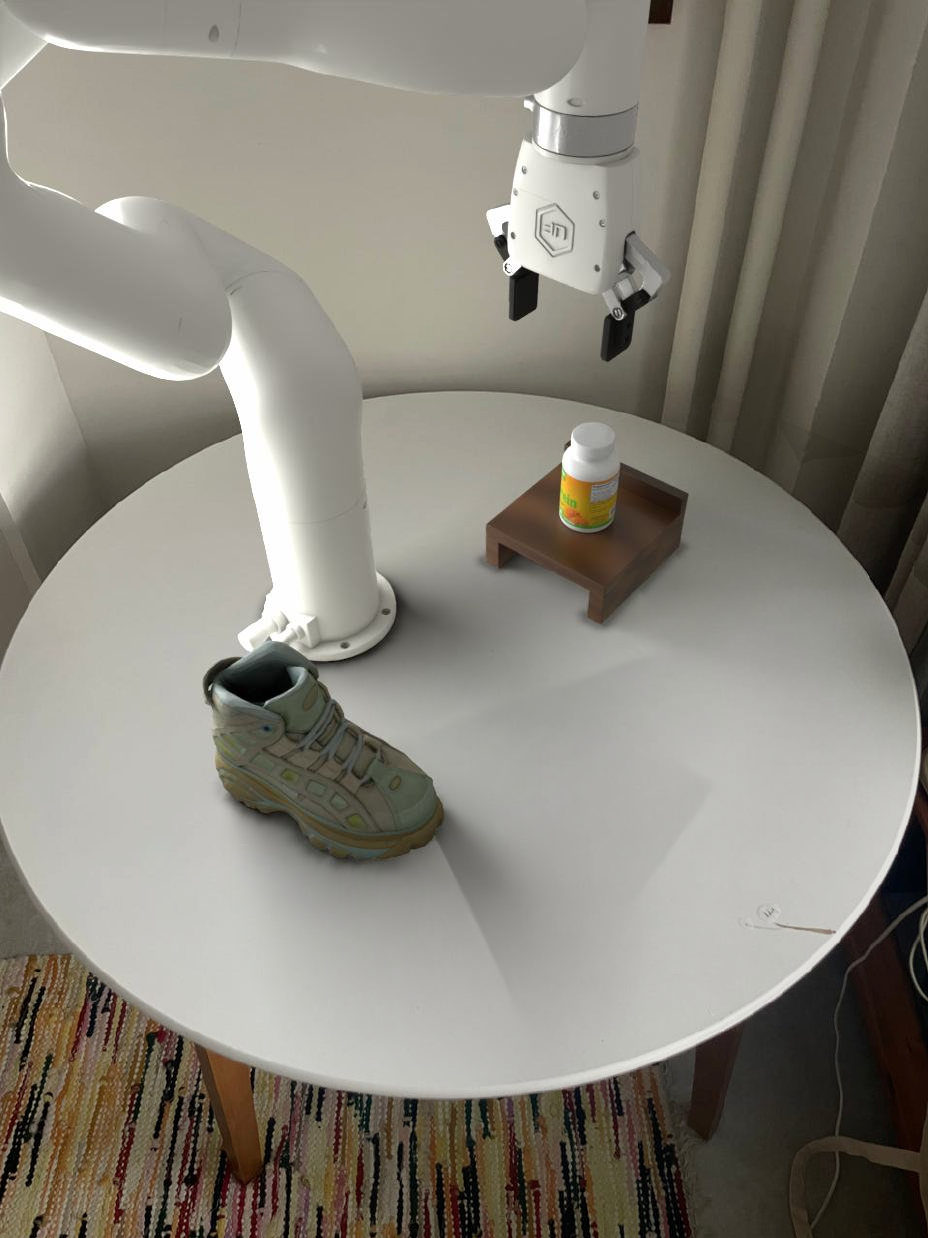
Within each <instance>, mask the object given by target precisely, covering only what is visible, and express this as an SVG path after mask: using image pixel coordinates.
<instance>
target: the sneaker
mask: <svg viewBox="0 0 928 1238" xmlns="http://www.w3.org/2000/svg"><path fill="white" fill-rule="evenodd" d="M319 678H320V673H319V669H318V667H317V666H316V665H315V664H314V663H313V662H312V661H311V660H308V659H307V658H306V657H305V656H304V655H302V654H301V653H300V652H298V651H297V650H295V649H294V648H292V647H291V646H289V645H288V644H286V643H283V642H280V641H276V640H272V639H271V640H268V641H267V640H266V641H264V642H263V643H262V644H260V645H259V646H258V647H257V648H255V649H254V650H253V651H251V652H250V651H249V653H247V654H246V655H244V656H231V657H226V658H222V659H220V660H218V661H216V662H214V663H213V664H212V665H211V666H210V668H209V669H207V671H206V673H205V674H204V675H203V677H202V681H201V685H202V698H203V701H204V704H205V705H207V706H209V707H211V711H212V714H211V716H212V717H211V718H212V728H211V733H212V734H211V735H212V739H213V743H214V745H215V756H214V757H215V758H214V764H215V769H216V771H217V772H218V777H219V779H220V781H221V783H222V786H223V788H224V789H225V791H227V792H229V793H230V795H231V797H232V798H233V799H234V800H235V801H236V802H243V803H244V804H245V806H246V807H248V808H251V809H254V810H256V809H257V810H258V811H259V812H260V813H262V814H263V813H264V814H270V813H273V812H280V811H281V812H284V813H286V814H288V815H289V816H290V817H291V818H293V820H295V822H297V824H298V827H299V829H300V831H301V834H302V836H303V837H304V838H307V839H309V842H310V844H311V846H312V847H313V848H315V849H317V850H319V851H320V852H322V851H328V852H329V854H331V856H333V857H336V858H339V859H348V858H349V857H350V856H351V857H353V858H354V859H355V860H356V862H367V861H370V860H374V859H375V860H378V861H385V860H390V859H394V858H398V857H402V856H405V855H408V854H409V853H410V852H411V850H417V849H421V848H424V847H425V846H427V845H429V843H430V842H432V841H433V839H435V836H436V835H437V832H438V828H440V827H441V826H442V824H443V823H444V822H443V821H444V819H445V818H444V817H445V808H444V805H443V802H442V800H441V798H440V797H439V796H438V794H437V791H436V789H435V786H434V779H433V778H432V777H431V775H428V774H427V773H426V772H425V771H424V770H423V769H422V768H421V767H420V766H419V765H418V764H416V762H414V761H413V760H412V759H411V758H410V757H409V756H408V755H407V754H406V753H405V752H403V750H402V751H401V750H400V749H398V748H396V747H394V746H392V745H391V744H390V743H388V742H387V741H385V740H384V739H382V738H381V737H378V736H376V735H374V734H372V733H370V732H368V731H367V730H365V729H363V728H362V727H361V726H359V725H357V724H356V723H354V722H352V720H349V719H348V718H346V717H345V712H344V710H343V707H342V706H341V705H340V703H339V702H338V701H337V700H336V699H335V698H332V696H331V693H330V691H329V689H328V687H327V685H325V683H323V681H321V680H319ZM209 688H210V689H209Z"/></svg>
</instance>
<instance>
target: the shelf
mask: <svg viewBox="0 0 928 1238" xmlns="http://www.w3.org/2000/svg"><path fill="white" fill-rule="evenodd" d="M570 446H571V439H569V440H568V441H567V442H566V443H564V448H563V454H564V453H565V451H566V450H567V449H568V448H569V447H570ZM561 478H562V461H561V462H560V463H559V464H557V465H556V466H555V467H554V468H552V470H550V471H548V472H547V473H546V474H545V475H544V476H543V477H541V479H539V480H537V482H536V483H534V484H532V486H531V487H529V488H528V489H527V490H526V491H525V492H523V493H522V494H521V495H519V496H518V497H517V498H515V500H514V501H512V502H511V503H510V504H509V505H507V506H506V507H505V508H504V509H503V510H501V511H500V512H499V513H497V514H496V515H495V516H494V517H493V518H491V519H490V520H489V521H488V522H487V523H486V524H485V562H486V563H488V564H490V565H492V566H494V567H495V568H497V569H499V568H500V567H502V565H504V564H505V563H506V562H507V561H509V560H510V559H511V558H512V557H513V556H514V555H516V553H518V554H519V555H521V556H524V557H525V558H527V559H529V560H530V561H532V562H535V563H536V564H538V565H540V566H542V567H544V568H546V569H547V570H549V571H551V572H553V573H555V574H557V575H559V576H560V577H562V578H564V579H566V580H568V581H570V582H572V583H573V584H575V585H577V586H578V587H581V588H583V589H585V590H587V591H588V592H589V594H588V604H587V613H586V614H587V615H586V617H587V618H588V619H589V620H592V621H593V622H595V623H597V624H599V625H602V624H603V623H604V622H605V621H606V620H607V619H608V618H609V617H610V616H611V615H612V614H614V612H615V611H616V610H617V609H618V608H619V607H620V606H621V605H622V604H623V603H624V602H625V601H626V600H627V599H628V598H629V597H630V596H631V595H633V593H634V592H635V591H636V590H637V589H638V588H639V587H640V586H641V585H642V584H644V582H645V581H646V580H648V578H649V577H650V576H651V575H652V574H653V573H654V572H655V571H657V569H659V568H660V567H661V565H662V564H663V563H665V561H667V559H669V558H670V557H671V555H673V554H674V552H676V550H677V549H679V547H680V544H681V538H682V533H683V527H684V521H685V516H686V509H687V506H688V499H689V492H687V491H685V490H682V489H680V488H677V486H674V485H672V484H669V483H667V482H665V481H663V480H661V479H658V478H656V477H654V476H652V475H650V474H648V473H646V472H643V471H641V470H639V469H637V468H635V467H632V466H631V465H628V464H626V463H623V462H622V461H620V471H619V480H618V489H617V498H616V507H615V515H614V519H613V521H612V522H611V524H610V525H609V526H608V527H606V528H605V529H603V530H600V531H597V532H592V533H585V532H579V531H576V530H573V529H571V528H569V527H568V526H566V525H565V524H564V523H563V522H562V520H561V518H560V514H559V507H560V493H561Z"/></svg>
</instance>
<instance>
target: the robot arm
mask: <svg viewBox="0 0 928 1238" xmlns="http://www.w3.org/2000/svg"><path fill="white" fill-rule="evenodd" d="M651 1H652V0H0V312H3V313H5V314H8V315H10V316H13V317H15V318H18V319H20V320H22V321H24V322H27V323H29V324H31V325H33V326H35V327H38V328H39V329H41V330H43V331H46V333H47V332H48V333H50V334H53V335H55V336H57V337H60V338H62V339H64V340H66V341H69V342H71V343H73V344H75V345H78V346H81V347H83V348H85V349H88V350H89V351H91V352H95V353H97V354H99V355H101V356H103V357H107V358H109V359H111V360H114V361H115V362H118V363H120V364H122V365H125V366H127V367H128V368H132V369H134V370H136V371H138V372H141V373H143V374H147V375H150V376H152V377H155V378H159V379H164V380H168V381H169V380H170V381H179V382H180V381H190V380H195V379H199V378H201V377H204V376H206V375H208V374H210V373H211V372H213V371H214V370H215V369H216V368H217V367H218V366H220V370H221V373H222V375H223V377H224V378H223V379H224V380H225V382H226V384H227V386H228V389H229V391H230V394H231V396H232V400H233V402H234V405H235V408H236V412H237V414H238V418H239V422H240V426H241V431H242V437H243V443H244V452H245V460H246V464H247V471H248V476H249V479H250V484H251V489H252V494H253V499H254V501H255V505H256V509H257V514H258V519H259V523H260V528H261V529H260V530H261V532H262V537H263V542H264V546H265V551H266V556H267V561H268V565H269V570H270V574H271V579H272V583H273V588H272V589H271V591H270V593H268V594H267V595H265V598H266V601H265V603H264V607H263V608H264V609H263V612H262V613H261V618H260V619H259V620H257V621H256V622H255V623H252V624H251V625H249V626H247V628H245V629H244V630H242V631H241V632H240V633H238V635H237V638H238V641H239V643H240V645H241V646H242V647H243V648H244V649H245V650H246V651H248V652H249V653H250V652H251V651H253V650H254V649H256V648H257V647H259V646H260V645H261V644H263V643H265V642H267V639H268V638H271V640H276V641H280V642H283V643H286V644H288V645H289V646H291V647H292V648H294V649H295V650H297V651H298V652H300V653H301V654H302V655H304V656H305V657H306V658H307V659H308V660H309V661H315V662H329V661H330V662H331V661H340V660H344V659H349V658H352V657H355V656H357V655H360V654H363V653H364V652H366V651H368V650H369V649H372V648H373V647H374V646H376V645H377V644H378V643H380V642H381V641H382V640H383V639H384V638H385V636H386V635H387V634H388V633H389V632H390V630H391V628H392V626H393V624H394V622H395V619H396V616H397V600H396V594H395V591H394V589H393V587H392V585H391V583H390V582H389V581H388V580H387V578H386V577H385V576H383V575H382V574H381V573H379V572H378V571H377V567H376V559H375V551H374V550H375V549H374V541H373V533H372V525H371V516H370V515H371V514H370V507H369V499H368V490H367V489H368V488H367V481H366V480H367V479H366V475H365V466H364V465H365V464H364V457H363V444H362V443H363V442H362V424H363V423H362V420H363V407H364V406H363V404H364V397H363V386H362V381H361V377H360V373H359V370H358V367H357V363H356V362H355V360H354V357H353V355H352V353H351V350H350V349H349V346H348V345H347V344H346V341H345V340H344V338H343V337H342V334H341V333H340V332H339V330H338V328H337V327H336V326H335V324H334V322H333V320H332V319H331V318H330V316H329V315H328V313H327V312H326V310H325V309H324V308H323V306H322V304H321V303H320V302H319V299H318V298H317V296H316V295H315V293H314V291H312V289H311V288H310V286H309V285H308V284H307V282H305V280H304V279H303V278H302V277H301V276H300V275H299V274H298V273H297V272H296V271H295V270H293V269H291V268H290V267H289V266H287V265H286V264H284V262H281V261H280V260H278V259H276V258H274V257H273V256H271V255H269V254H267V253H265V252H264V251H262V250H260V249H258V248H256V247H255V246H253V245H251V244H249V243H247V242H245V241H244V240H242V239H240V238H238V237H237V236H235V235H232V234H231V233H229V232H227V231H226V230H223V229H222V228H220V227H218V226H216V225H214V224H213V223H211V222H209V221H207V220H205V219H204V218H201V217H200V216H198V215H197V214H194V213H193V212H191V211H189V210H187V209H185V208H183V207H181V206H179V205H176V204H174V203H172V202H169V201H166V200H162V199H160V198H159V199H158V198H156V197H150V196H141V195H133V196H124V197H119V198H115V199H113V200H110V201H108V202H106V203H104V204H102V205H101V206H99V207H98V208H96V209H95V210H94V209H92V208H91V207H89V206H87V205H86V204H85V203H83V202H80V201H79V200H78V199H75V198H74V197H71V196H70V195H67V194H65V193H63V192H60V191H58V190H55V189H52V188H50V187H47V186H44V185H40V184H37V183H33V182H31V181H30V182H29V181H27V180H25V179H23V178H22V177H20V175H18V174H17V172H15V171H14V169H13V167H12V165H11V163H10V161H9V160H10V159H9V153H8V121H7V112H6V108H5V104H4V98H3V92H2V90H3V88H4V87H6V85H7V84H8V83H9V82H10V81H11V80H13V78H14V77H15V76H16V75H17V74H18V73H19V72H21V70H22V69H24V67H26V66H27V65H28V64H29V62H31V60H33V59H34V58H35V57H36V56H37V55H38V54H39V53H40V52H41V51H42V50H43V49H44V47H46V46H47V45H48V44H49V43H50V44H53V45H55V46H59V47H61V48H66V49H71V50H78V51H79V50H80V51H86V52H97V53H98V52H99V53H112V54H113V53H114V54H133V55H148V56H149V55H151V56H170V57H171V56H172V57H187V58H188V57H189V58H207V59H223V60H224V59H227V60H238V61H241V60H242V61H254V62H268V63H269V62H270V63H279V64H285V65H289V66H293V67H296V68H299V69H303V70H304V71H305V70H306V71H309V72H313V73H316V74H321V75H326V76H332V77H333V76H334V77H339V78H343V79H349V80H354V81H358V82H359V81H360V82H363V83H368V84H373V85H378V86H381V87H385V88H392V89H396V90H401V91H408V92H414V93H420V94H428V95H436V96H437V95H438V96H449V97H471V98H473V97H474V98H476V97H477V98H492V99H493V98H495V99H496V98H497V99H514V98H515V99H517V98H524V99H523V106H524V109H525V110H526V111H529V112H531V113H532V130H530V131H528V132H526V133H525V134H524V135H523V138H522V141H521V145H520V149H519V153H518V156H517V160H516V165H515V170H514V175H513V181H512V185H511V186H512V187H511V194H510V202H505V203H502V204H498V205H496V206H495V207H493V208H491V209H489V210H488V211H487V212H486V218H487V221H488V225H489V227H490V230H491V233H492V236H493V235H494V238H493V245H494V247H495V249H496V250H497V252H498V254H499V255H500V257H501V259H502V260H503V264H502V268H503V272H504V273H505V274H506V275H507V276H509V283H508V284H509V285H508V303H509V304H508V319H509V320H510V321H512V322H518V321H520V320H522V319H523V318H524V317H526V316H528V315H530V314H531V313H532V312H534V311H536V310H537V308H538V300H539V298H538V297H539V284H540V283H539V282H540V275H541V276H543V277H546V278H549V279H551V280H554V281H556V282H558V283H560V284H564V285H566V286H568V287H570V288H573V289H576V290H579V291H581V292H584V293H587V294H590V295H602V298H603V299H604V302H605V304H606V306H607V307H608V309H609V312H610V313H609V314H607V315H605V317H604V319H603V325H602V326H603V327H602V337H601V345H600V354H599V355H600V358H601V361H604V362H606V363H609V362H611V361H612V360H613V359H614V358H616V357H617V356H619V355H620V354H622V353H624V352H625V351H626V350H627V349H629V347H630V346H631V344H632V341H633V340H632V339H633V332H634V325H635V318H636V312H637V311H638V310H640V309H641V308H643V307H644V306H646V305H647V304H649V303H651V302H652V301H654V300H655V299H656V298H657V297H658V295H659V293H660V292H661V291H662V290H663V288H664V287H665V286H666V285H667V283H668V282H669V280H670V279H671V277H672V273H671V271H670V269H669V268H668V267H667V266H666V265H665V264H664V263H663V262H662V261H661V259H660V258H658V257H657V255H656V254H655V253H654V252H653V251H652V250H651V249H650V248H649V247H648V246H647V245H646V244H645V243H644V242H643V241H642V240H641V236H642V225H643V224H642V222H643V171H642V160H641V159H642V158H641V150H640V149H639V148H638V147H636V146H635V139H636V129H637V121H638V113H639V105H640V96H641V87H642V77H643V70H644V61H645V54H646V53H645V52H646V44H647V34H648V26H649V18H650V10H651V9H650V8H651ZM635 271H637V272H638V273H639V274H640V275H641V277H642V279H643V281H642V283H641V285H640V287H638V284H637V283H636V280H635V278H634V277H633V275H634V273H635ZM617 285H618V287H619V289H620V291H621V293H622V295H623V297H624V299H623V297H622V296H621V293H620V292H619V290H618V288H617Z"/></svg>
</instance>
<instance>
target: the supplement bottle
mask: <svg viewBox="0 0 928 1238" xmlns="http://www.w3.org/2000/svg"><path fill="white" fill-rule="evenodd" d="M570 440H571V446H570V447H569V448H568V449H567V450H566V451H565V453H564V452H563V455H562V461H561V462H562V478H561V493H560V507H559V514H560V518H561V520H562V522H563V523H564V524H565V525H566V526H568V527H569V528H571V529H573V530H576V531H579V532H585V533H592V532H597V531H600V530H603V529H605V528H606V527H608V526H609V525H610V524H611V522H612V521H613V519H614V515H615V507H616V498H617V489H618V480H619V471H620V462H621V457H620V454H619V453H618V452H619V451H617V450H616V449H615V448H616V433H615V430H614V429H612V428H611V427H610V426H609V425H607V424H604V423H601V422H597V421H596V422H595V421H594V422H593V421H589V422H584V423H581V424H578V425H577V426H576V427H575V428H574V429H573V430H572V433H571V438H570Z"/></svg>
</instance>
